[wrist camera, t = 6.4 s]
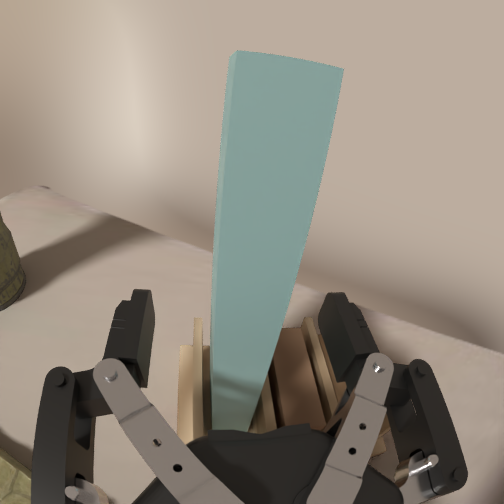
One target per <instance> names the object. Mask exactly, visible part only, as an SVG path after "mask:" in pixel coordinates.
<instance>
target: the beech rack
mask: <svg viewBox="0 0 504 504" xmlns="http://www.w3.org/2000/svg"><path fill="white" fill-rule="evenodd" d="M301 331H302V335H303V338H304V342H305V346H306V349H307V353H308V357H309V360H310V364H311V368H312V372H313V376H314V379H315V383H316V387H317V391H318V395H319V399H320V402H321V406H322V410H323V414H324V418H325V422H326V425H327V424H328V422H329V421H330V419H331V417H332V415H333V413H334V411H335V409H336V407H337V405H338V402H337V399H336V395H335V392H334V388H333V385H332V382H331V378H330V375H329V371H328V368H327V365H326V361H325V358H324V355H323V352H322V348H321V345H320V342H319V339H318V336H317V332H316V329H315V326H314V323H313V320H312V317H306V318H304V320H303V323H302V326H301ZM325 427H326V426H325ZM325 427H324V428H325ZM324 428H323V429H322V430H321V431H323V430H324ZM275 429H277V427H276V421H275V415H274V409H273V402H272V396H271V390H270V384H269V378H268V373H267V376H266V379H265V382H264V385H263V388H262V391H261V394H260V397H259V400H258V403H257V406H256V409H255V411H254V414H253V417H252V420H251V423H250V426H249V429H248V431H247V432H250V433H256V434H263V433H266V432H269V431H272V430H275ZM208 430H212V424H211V401H210V346H203V335H202V318H194V339H193V346H191V345H180V360H179V381H178V414H177V435H178V437H179V438H180V439H181V440H182V441H183V442H184V444H185V445H186V444H187V443H189V442H190V441H192V440H194V439H196V438H199V437H202V436H206V435H208ZM389 430H391V428H390V425H389V421H388V418H387V414H385V417H384V420H383V423H382V426H381V429H380V432H379V435H378V438H377V440H376V443H375V446H374V448H373V451H372V454H371V456H370V457H373V456H376V455H380V454H382V453H384V452H385V451H387V449H386V446H385V443H384V440H383V437H382V435H384V434H385V433H387V432H388V431H389Z"/></svg>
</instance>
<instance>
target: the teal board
mask: <svg viewBox="0 0 504 504" xmlns="http://www.w3.org/2000/svg"><path fill="white" fill-rule="evenodd" d="M343 71H344V69H342V68H338V67H335V66H330V65H326V64H322V63H317V62H313V61H307V60H303V59H297V58H292V57H286V56H279V55H273V54H266V53H258V52H249V51H236V52H235V53H234V54H232V55H231V56H230V58H229V66H228V74H227V75H228V76H227V83H226V93H225V102H224V112H223V123H222V134H221V145H220V157H219V170H218V184H217V198H216V214H215V230H214V250H213V270H212V296H211V330H210V401H211V424H212V430H232V429H234V430H239V431H244V432H247V431H248V429H249V426H250V423H251V420H252V417H253V414H254V411H255V409H256V406H257V403H258V400H259V397H260V394H261V391H262V388H263V385H264V382H265V379H266V376H267V373H268V370H269V367H270V364H271V360H272V357H273V354H274V351H275V348H276V345H277V341H278V338H279V335H280V332H281V328H282V325H283V322H284V318H285V315H286V312H287V308H288V305H289V301H290V298H291V294H292V291H293V287H294V284H295V280H296V276H297V273H298V269H299V266H300V262H301V258H302V255H303V251H304V247H305V243H306V239H307V236H308V231H309V228H310V224H311V220H312V216H313V212H314V208H315V203H316V200H317V195H318V191H319V187H320V183H321V179H322V174H323V170H324V165H325V161H326V156H327V152H328V147H329V142H330V138H331V133H332V128H333V123H334V119H335V114H336V109H337V104H338V98H339V93H340V88H341V82H342V77H343Z"/></svg>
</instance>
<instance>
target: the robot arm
mask: <svg viewBox="0 0 504 504" xmlns="http://www.w3.org/2000/svg"><path fill="white" fill-rule="evenodd" d="M318 325H319V329H320V332H321V335H322V338H323V341H324V344H325V347H326V350H327V353H328V356H329V359H330V363H331V366H332V369H333V372H334V375H335V378H336V382H337V383H339V382H345V383H346V387H345V389H344V391H343V393H342V396H341V398H340V400H339V402H338V405H337V407H336V409H335V411H334V413H333V415H332V417H331V419H330V421H329V422H328V424H327V425H326V427H325V428H324V430H323V431H320V430H316V429H311V428H310V424H309V423H305V424H297V425H288V426H284V427H281V428H278V429H275V430H272V431H269V432H266V433H263V434H256V433H250V432H244V431H239V430H234V429H232V430H208V435H206V436H202V437H199V438H196V439H194V440H192V441H190V442H189V443H187V444H186V445H185V444H184V442H183V441H182V440H181V439H180V438H179V437H178V435H177V434H176V433H175V432H174V430H173V429H172V428H171V427H170V426H169V424H168V423H167V422H166V420H165V419H164V418H163V417H162V415H161V414H160V413H159V411H158V410H157V409H156V408H155V406H154V405H153V404H151V403H150V402H149V401H148V399H147V398H146V397H145V395H144V394H143V392H142V391H141V389H140V387H142V388H147V384H148V375H149V366H150V357H151V349H152V341H153V334H154V327H155V312H154V306H153V300H152V294H151V290H143V289H134V290H133V293H132V297H131V301H126V300H122V302H121V303H120V304H119V305H118V307H117V308H116V310H115V313H114V317H113V321H112V324H111V328H110V332H109V336H108V340H107V344H106V348H105V353H104V357H103V359H102V361H100V362H99V363H98V364H97V365H96V366H95V368H93V369H90V370H87V371H81V372H75V373H72V372H71V370H69V369H68V368H66V367H55V368H53V369H52V370H50V371H49V372H48V374H47V375H46V378H45V382H44V386H43V391H42V396H41V401H40V407H39V412H38V418H37V425H36V432H35V440H34V449H33V459H32V474H31V504H109V502H108V498H107V495H106V493H105V492H104V491H103V490H102V489H101V488H100V487H98V486H97V485H94V484H93V466H94V438H95V423H96V417H97V416H103V415H108V414H114V415H115V417H116V418H117V420H118V422H119V424H120V426H121V427H122V429H123V430H124V432H125V434H126V435H127V436H128V438H129V439H130V441H131V442H132V444H133V445H134V447H135V448H136V449H137V451H138V452H139V454H140V455H141V456H142V458H143V459H144V460H145V462H146V463H147V464H148V466H149V467H150V468H151V469H152V471H153V472H154V473H155V475H156V476H157V477H156V478H155V479H154V480H153V481H152V482H151V483H150V485H149V486H148V487H147V488H146V489H145V490H144V491H143V492H142V493H141V494H140V495H139V496H138V498H137V499H136V500H135V501H134V502H133V503H132V504H419V503H422V502H425V501H428V500H432V499H435V498H437V497H440V496H443V495H446V494H449V493H451V492H454V491H456V490H459V489H461V488H462V487H463V486H464V485H465V483H466V481H467V477H468V471H467V467H466V463H465V460H464V456H463V453H462V450H461V446H460V443H459V440H458V437H457V434H456V431H455V428H454V425H453V422H452V419H451V417H450V414H449V411H448V408H447V406H446V403H445V400H444V398H443V395H442V393H441V390H440V388H439V385H438V383H437V380H436V378H435V376H434V373H433V371H432V369H431V367H430V365H429V364H428V363H427V362H425V361H424V360H421V359H415V360H413V361H412V362H411V363H410V364H409V365H402V364H396V363H392V361H391V359H390V358H389V357H388V356H386V355H384V354H382V353H380V352H379V350H378V348H377V345H376V343H375V341H374V339H373V336H372V334H371V332H370V330H369V328H368V325H367V323H366V321H364V317H363V315H362V313H361V310H360V309H359V308H358V307H357V306H356V305H355V304H354V303H349V301H348V299H347V297H346V295H345V293H343V292H339V293H328V294H327V295H326V298H325V300H324V303H323V305H322V308H321V310H320V313H319V316H318ZM411 399H412V401H411ZM412 402H413V404H412ZM413 405H414V407H413ZM414 408H415V410H414ZM415 411H416V413H415ZM385 414H387V418H388V421H389V425H390V428H391V432H392V435H393V439H394V443H395V447H396V451H397V455H398V459H399V463H400V464H399V465H398V466H397V469H396V473H395V475H394V479H395V483H393V482H392V481H390V480H389V479H388V478H386V477H385V476H383V475H382V474H381V473H379V472H378V471H377V470H375V469H374V468H373V467H371V466H370V465H369V464H367V463H368V461H369V459H370V456H371V454H372V451H373V448H374V446H375V443H376V440H377V438H378V435H379V432H380V429H381V426H382V423H383V420H384V417H385ZM416 414H417V416H416Z"/></svg>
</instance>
